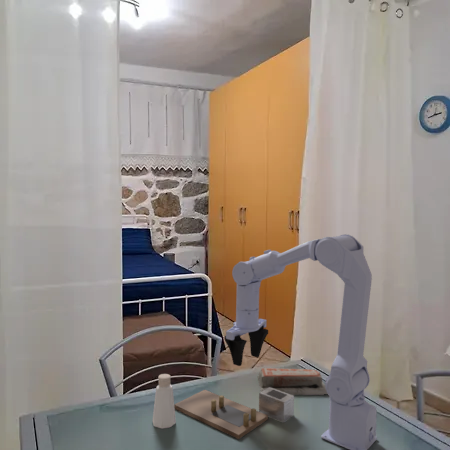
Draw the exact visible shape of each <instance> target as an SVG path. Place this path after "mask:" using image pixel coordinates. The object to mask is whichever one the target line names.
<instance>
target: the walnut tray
mask: <svg viewBox="0 0 450 450" xmlns="http://www.w3.org/2000/svg"><path fill="white" fill-rule="evenodd" d="M174 408H175V411H176V410H177V411H178V412H180V413H182V414H185V415H187V416H189V417H191V418H193V419H195V420H197V421H200V422H202V423H203V424H206V425H208V426H210V427H212V428H214V429H216V430H218V431H221V432H223V433H225V434H227V435H229V436H231V437H234V438H235V439H238V440H240V439H241V438H243V437H244V436H246V435H247V434H249V433H251V432H252V431H253V430H254V429H256V428H257V427H259V426H260V425H262V424H263V423H265V422H266V421H268V420H269V417H268V415H266V414H263V413H261V412H259V410H257V409H256V408H250V407H248V406H246V405H243V404H241V403H239V402H237V401H234V400H231V399H228V398H226V397H225V395H219V394H216V393H214V392H211V391H209V390H207V389H203V390H201V391H199V392H196V393H194V394H193V395H191V396H189V397H187V398H185V399H182V400H181V401H178V402H176V403H174Z"/></svg>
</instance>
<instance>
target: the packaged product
mask: <svg viewBox="0 0 450 450" xmlns="http://www.w3.org/2000/svg"><path fill="white" fill-rule="evenodd" d="M257 381H258V386H259V389H260V392H262V391H264V390H265V389H267V388H269V387H271V388H274V389H277V390H279V391H282V392H285V393H288V394H291V395H293V396H295V395H297V396H299V395H301V396H303V395H306V396H307V395H308V396H314V395H315V396H316V395H317V396H319V395H320V396H321V395H323V396H325V395H324V394H328V393H327V391H326V388H325V383H324V381H323V377H322V374H321V372H320V371H318V370H316V369H312V368H311V369H306V368H304V369H303V368H278V367H277V368H276V367H275V368H272V367H268V368H267V367H264V368H263V367H262V368H261V369H260V371H259V373H258V376H257Z"/></svg>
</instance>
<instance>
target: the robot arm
mask: <svg viewBox="0 0 450 450" xmlns="http://www.w3.org/2000/svg"><path fill="white" fill-rule="evenodd" d="M308 259H310V260H312V261H313V262H316V261H318V262H319V264H321V265H322V266H323V267H325V269H328V270H330V271H331V272H333V273H335V274H336V275H337V276H338V277H339V278H340V279H341V280H342V282H343V283H344V287H343V297H342V306H341V307H342V308H341V315H340V316H341V318H340V327H339V334H338V336H339V337H338V343H337V353H336V357H335V358H334V360H333V361H332V364H331V367H330V368H331V369H330V373H329V375H328V376H327V378H326V379H325V383H324V385H325V388H326V391H327V393H328V397H329V412H328V413H329V416H328V417H329V418H328V429H327V430H325V431H324V432H323V433H322V434H321V435H320V437H321V439H323V440H324V441H325V440H326V441H328V442H330V443H333V444H335V445H337V446H341V447H343V448H345V449H348V450H368V449H370V447H371V446H372V445H373V444H374V443H375V442H376V441H377V439H378V437H377V408H376V406H375V405H372V404H370V403H369V402H368V401H367V400H366V398H365V389H367V388H368V386H369V384H370V381H371V378H370V373H369V371H368V370H369V369H368V360H367V358H365V357H364V351H365V344H366V343H365V341H366V332H367V327H368V326H367V323H368V316H369V315H368V314H369V306H370V296H371V290H372V288H371V287H372V280H373V276H372V272H371V268H370V266H369V264H368V261H367V259H366V256H365V253H364V245H362V243H361V242H360V241H358V239H356V238H355V237H354V236H353V235H350V234H347V233H346V234H340V235H336V236H326V237H325V236H324V237H322V238H318V239H313V240H308V241H306V242H304V243H301V244H299V245H296V246H294V247H292V248H290V249H287V250H286V251H283V252H279V251H277V250H272V249H266V250H264V251H263V254H261V255H259V256H255V255H254V256H250V257H249V260H247V261H238V263H236V264H235V265H234V266H233V268H232V270H231V271H232V273H231V274H232V278H233V280H234V283H236V299H235V300H236V303H235V304H236V306H235V307H236V308H235V314H236V315H235V321H234V322H233V323H232V325H233V326H232V327H230V328H229V329H228V330H226V331H225V335H224V341H225V343H226V345H227V347H228V350H229V352H230V356H231V359H232V364H233V365H235V366H237V367H241V366H242V363H243V358H244V357H243V356H244V350H245V347H246V344H247V342H248V340H245V339H243V338H242V337H241V336H244V335H246V334H248V337H249V342H250V343H249V344H250V355H251V357H255V358H259V357H260V355H261V351H262V347H263V345H264V342H265V339H266V338H267V336H268V334H269V330H268V329H266V328H267V319H263V318H260V316H259V314H260V313H259V312H260V288H261V283H262V281H263V280H266V279H269V278H271V277H274V276H277V275H278V276H279V275H281V274H282V273H284V271H285V269H286V266H289V265H293V264H296V263H298V262H299V263H300V262H302V261H304V260H308Z"/></svg>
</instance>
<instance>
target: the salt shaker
mask: <svg viewBox="0 0 450 450" xmlns="http://www.w3.org/2000/svg"><path fill="white" fill-rule="evenodd" d="M171 377H172V376H171V375H170V374H168V373H161V374H159V375H158V377H157V378H158V385H157V386H156V388H155V395H154V402H153V403H154V405H153V411H152V412H153V413H152V424H153V427H155V428H158V429H168V428H172V426H175V424H176V423H177V421H176V409H175V408H174V404H175V399H174V397H175V396H174V389H173V386H172V384H171Z"/></svg>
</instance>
